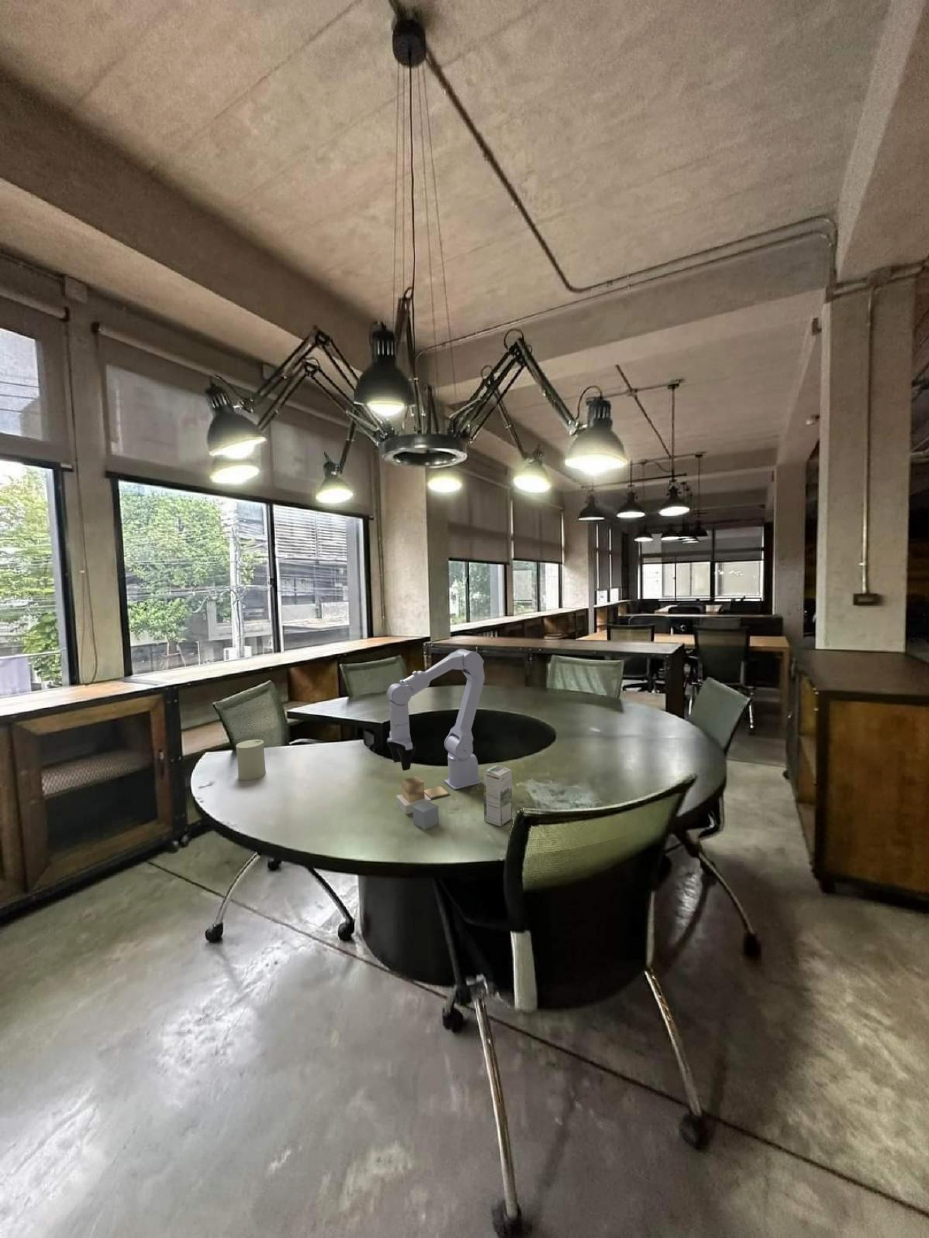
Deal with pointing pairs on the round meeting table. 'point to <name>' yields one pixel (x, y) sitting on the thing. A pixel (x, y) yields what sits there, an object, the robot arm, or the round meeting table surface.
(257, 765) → the can
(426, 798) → the base block
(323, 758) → the round meeting table surface
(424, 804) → the slate cube
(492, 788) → the syrup box
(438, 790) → the tile
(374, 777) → the round meeting table surface
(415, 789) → the maple cube
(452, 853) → the round meeting table surface
